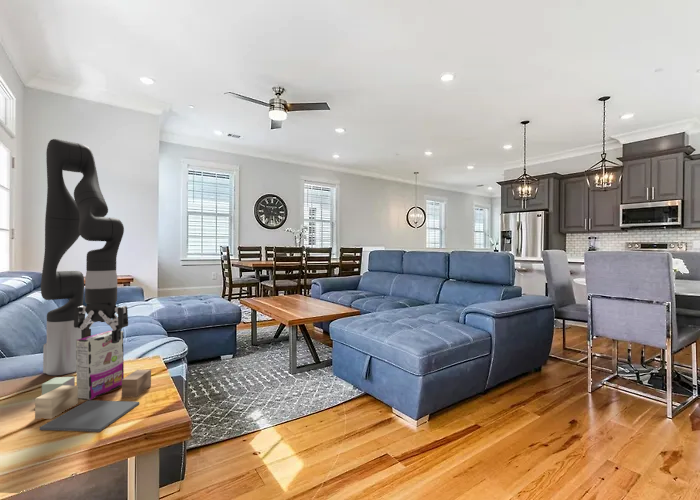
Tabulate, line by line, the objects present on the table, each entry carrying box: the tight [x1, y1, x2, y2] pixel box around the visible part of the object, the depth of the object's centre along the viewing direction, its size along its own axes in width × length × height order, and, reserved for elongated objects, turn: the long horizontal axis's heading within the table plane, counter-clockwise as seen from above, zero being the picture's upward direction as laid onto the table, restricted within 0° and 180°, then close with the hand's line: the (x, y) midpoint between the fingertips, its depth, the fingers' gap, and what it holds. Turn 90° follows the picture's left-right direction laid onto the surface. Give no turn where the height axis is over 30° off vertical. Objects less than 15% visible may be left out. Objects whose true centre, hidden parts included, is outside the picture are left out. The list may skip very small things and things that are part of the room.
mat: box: [39, 399, 140, 433], centre depth 85 cm, size 14×14×1 cm
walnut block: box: [121, 369, 152, 398], centre depth 100 cm, size 8×4×5 cm, turn 4°
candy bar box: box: [75, 329, 125, 401], centre depth 100 cm, size 11×5×16 cm, turn 168°
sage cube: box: [41, 376, 76, 395], centre depth 95 cm, size 5×5×5 cm
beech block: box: [34, 385, 79, 420], centre depth 88 cm, size 8×4×5 cm, turn 179°
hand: (101, 342), depth 100 cm, fingers open, 8 cm apart
